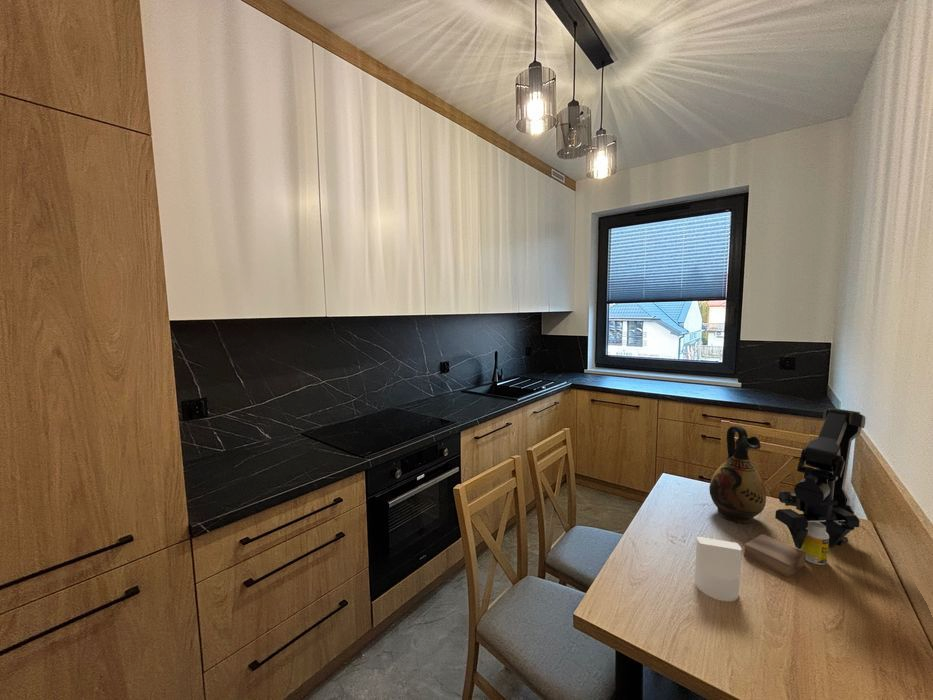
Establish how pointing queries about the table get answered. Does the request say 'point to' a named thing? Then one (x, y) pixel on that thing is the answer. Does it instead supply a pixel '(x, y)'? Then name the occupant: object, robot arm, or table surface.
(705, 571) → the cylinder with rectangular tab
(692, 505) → the table surface
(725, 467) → the ceramic jug
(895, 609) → the table surface
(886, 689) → the table surface
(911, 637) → the table surface
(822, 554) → the supplement bottle
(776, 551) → the walnut block
